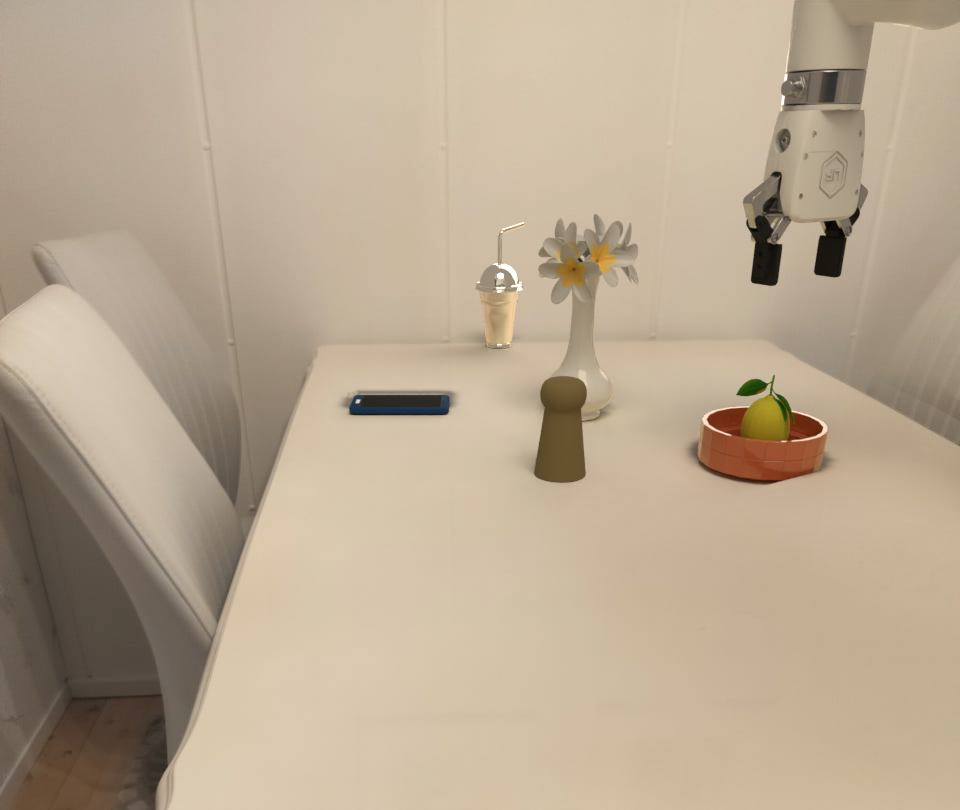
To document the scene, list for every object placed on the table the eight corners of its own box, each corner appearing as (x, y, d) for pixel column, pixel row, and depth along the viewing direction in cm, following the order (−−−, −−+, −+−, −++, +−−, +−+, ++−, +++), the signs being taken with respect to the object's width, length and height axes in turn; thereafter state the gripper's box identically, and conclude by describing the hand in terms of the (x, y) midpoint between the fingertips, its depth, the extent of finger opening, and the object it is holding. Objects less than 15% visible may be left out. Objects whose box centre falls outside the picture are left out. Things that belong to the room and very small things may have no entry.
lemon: (728, 450, 112) (739, 367, 107) (776, 450, 112) (790, 367, 107) (739, 468, 107) (752, 381, 102) (790, 469, 106) (805, 382, 101)
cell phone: (354, 399, 133) (354, 394, 133) (449, 399, 134) (449, 394, 133) (348, 414, 127) (348, 408, 127) (448, 414, 127) (448, 408, 127)
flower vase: (526, 434, 120) (531, 225, 107) (539, 396, 135) (545, 210, 123) (626, 439, 118) (644, 227, 105) (628, 400, 134) (643, 212, 121)
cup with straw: (471, 341, 168) (470, 222, 158) (519, 339, 169) (522, 221, 159) (479, 351, 161) (479, 227, 151) (530, 349, 162) (533, 226, 152)
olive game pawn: (556, 486, 103) (561, 387, 98) (523, 471, 107) (525, 376, 102) (596, 475, 106) (603, 379, 101) (562, 461, 110) (567, 368, 105)
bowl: (755, 439, 118) (761, 400, 116) (845, 470, 108) (854, 428, 105) (672, 458, 112) (677, 417, 109) (760, 493, 101) (767, 449, 99)
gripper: (790, 92, 83) (765, 292, 91) (912, 93, 91) (878, 276, 99) (730, 95, 89) (711, 283, 97) (849, 95, 97) (822, 269, 105)
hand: (795, 280), depth 98 cm, fingers open, 9 cm apart
